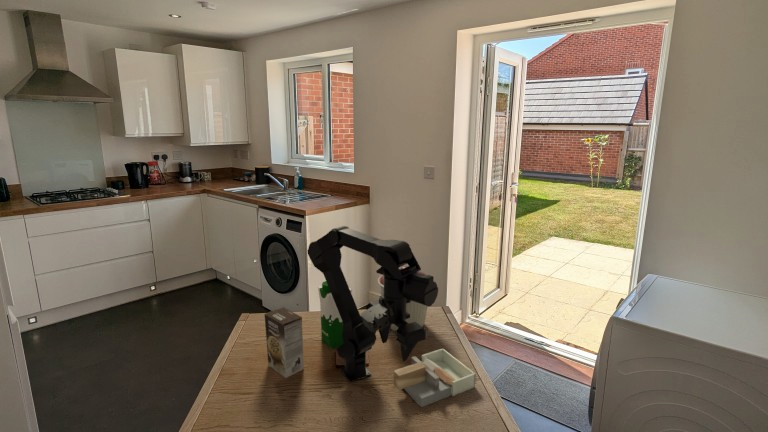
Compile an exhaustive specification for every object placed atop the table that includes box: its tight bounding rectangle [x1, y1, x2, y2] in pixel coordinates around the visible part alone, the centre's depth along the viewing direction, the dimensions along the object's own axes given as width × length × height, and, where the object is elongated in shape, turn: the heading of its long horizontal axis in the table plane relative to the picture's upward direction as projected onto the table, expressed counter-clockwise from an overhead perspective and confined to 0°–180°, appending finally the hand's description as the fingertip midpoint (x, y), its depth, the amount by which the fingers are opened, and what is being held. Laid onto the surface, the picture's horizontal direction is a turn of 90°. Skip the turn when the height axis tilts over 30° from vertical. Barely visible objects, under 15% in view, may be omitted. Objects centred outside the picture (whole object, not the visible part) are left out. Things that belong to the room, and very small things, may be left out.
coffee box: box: [263, 306, 305, 379], centre depth 115 cm, size 9×6×16 cm
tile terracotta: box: [435, 368, 455, 385], centre depth 108 cm, size 4×4×2 cm
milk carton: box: [317, 280, 353, 350], centre depth 128 cm, size 9×9×20 cm
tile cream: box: [423, 358, 446, 372], centre depth 113 cm, size 4×4×2 cm
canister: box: [377, 265, 429, 332], centre depth 138 cm, size 18×18×21 cm
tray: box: [421, 348, 476, 397], centre depth 112 cm, size 14×7×4 cm, turn 29°
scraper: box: [393, 355, 439, 391], centre depth 106 cm, size 11×9×4 cm
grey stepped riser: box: [393, 360, 452, 408], centre depth 108 cm, size 13×9×2 cm
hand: (394, 351), depth 103 cm, fingers open, 9 cm apart
